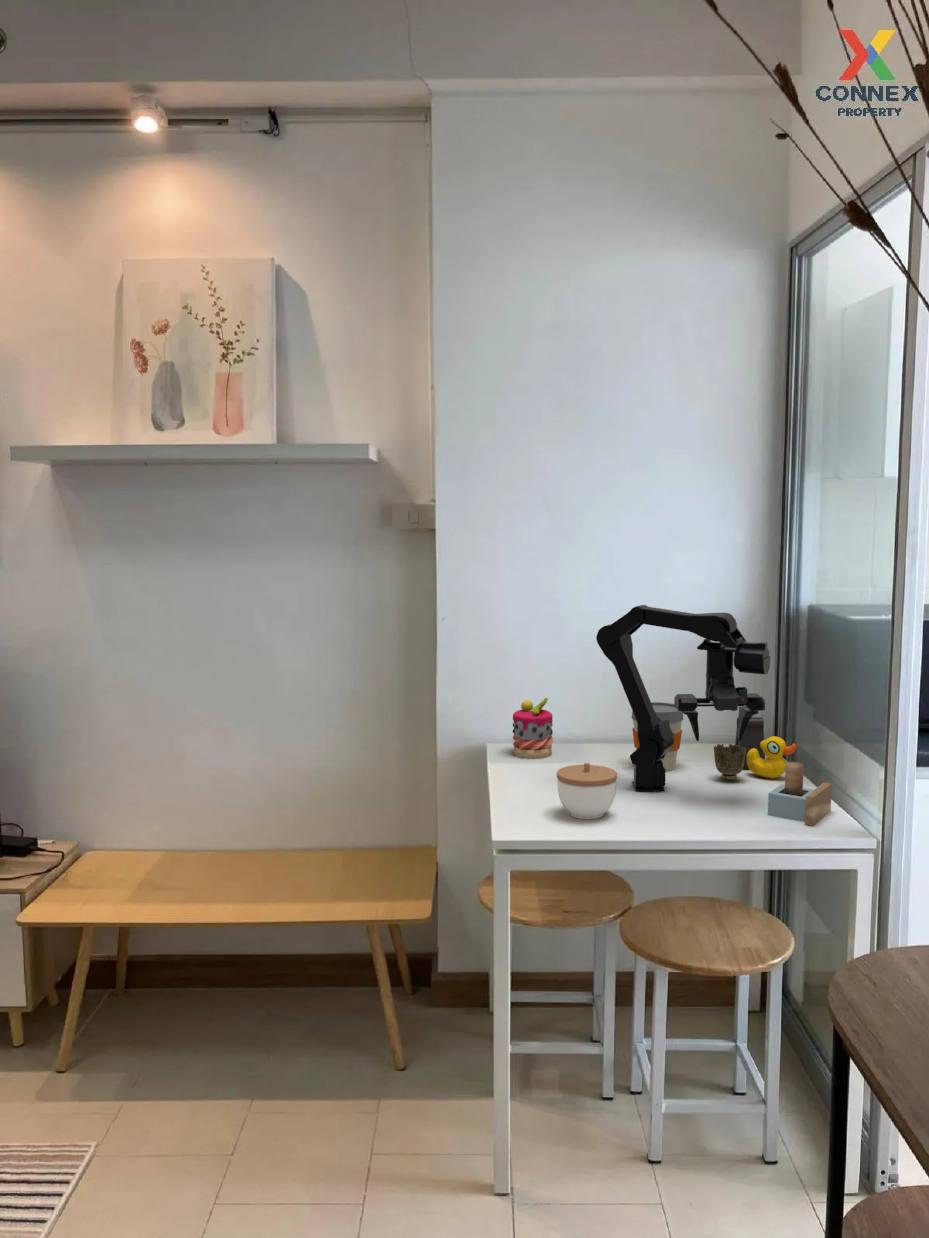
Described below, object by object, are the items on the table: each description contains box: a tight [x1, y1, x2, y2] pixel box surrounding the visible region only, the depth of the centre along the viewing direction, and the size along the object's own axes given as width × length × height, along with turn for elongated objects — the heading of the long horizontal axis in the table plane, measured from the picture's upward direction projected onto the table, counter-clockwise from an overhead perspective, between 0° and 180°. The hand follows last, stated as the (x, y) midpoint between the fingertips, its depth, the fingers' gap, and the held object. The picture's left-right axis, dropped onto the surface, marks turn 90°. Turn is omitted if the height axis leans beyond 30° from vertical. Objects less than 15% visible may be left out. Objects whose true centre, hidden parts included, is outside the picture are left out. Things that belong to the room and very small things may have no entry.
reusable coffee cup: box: [631, 701, 684, 772], centre depth 253 cm, size 13×13×15 cm
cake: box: [512, 697, 554, 760], centre depth 267 cm, size 10×11×15 cm
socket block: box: [767, 783, 815, 823], centre depth 217 cm, size 8×8×5 cm
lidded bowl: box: [556, 762, 618, 820], centre depth 217 cm, size 13×13×11 cm
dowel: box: [784, 761, 804, 797], centre depth 216 cm, size 4×4×10 cm
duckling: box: [747, 735, 797, 779], centre depth 243 cm, size 11×5×10 cm, turn 57°
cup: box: [713, 743, 746, 782], centre depth 242 cm, size 8×7×8 cm
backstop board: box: [804, 781, 833, 827], centre depth 214 cm, size 2×12×6 cm, turn 144°
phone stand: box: [734, 716, 766, 771], centre depth 254 cm, size 9×6×12 cm, turn 176°
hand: (718, 740), depth 227 cm, fingers open, 9 cm apart
